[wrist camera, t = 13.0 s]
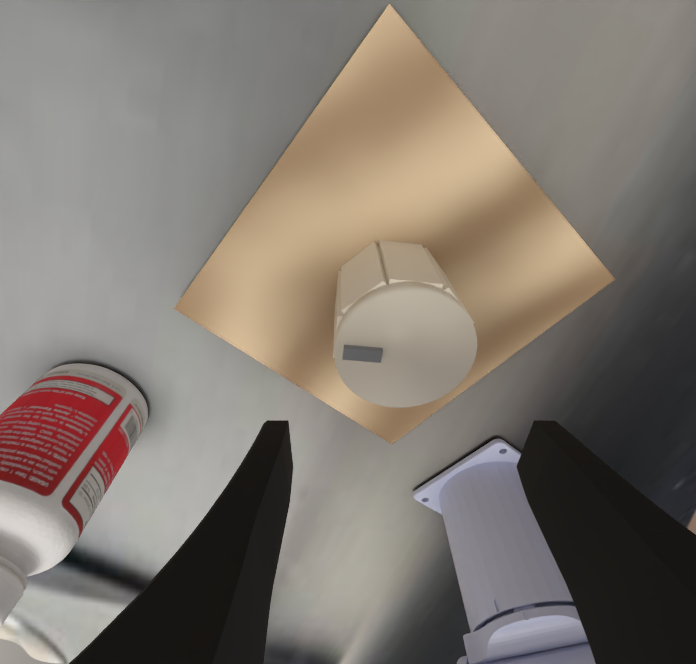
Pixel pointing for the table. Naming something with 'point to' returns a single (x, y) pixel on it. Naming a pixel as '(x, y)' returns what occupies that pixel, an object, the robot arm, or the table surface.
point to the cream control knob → (400, 327)
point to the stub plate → (391, 227)
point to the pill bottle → (59, 465)
